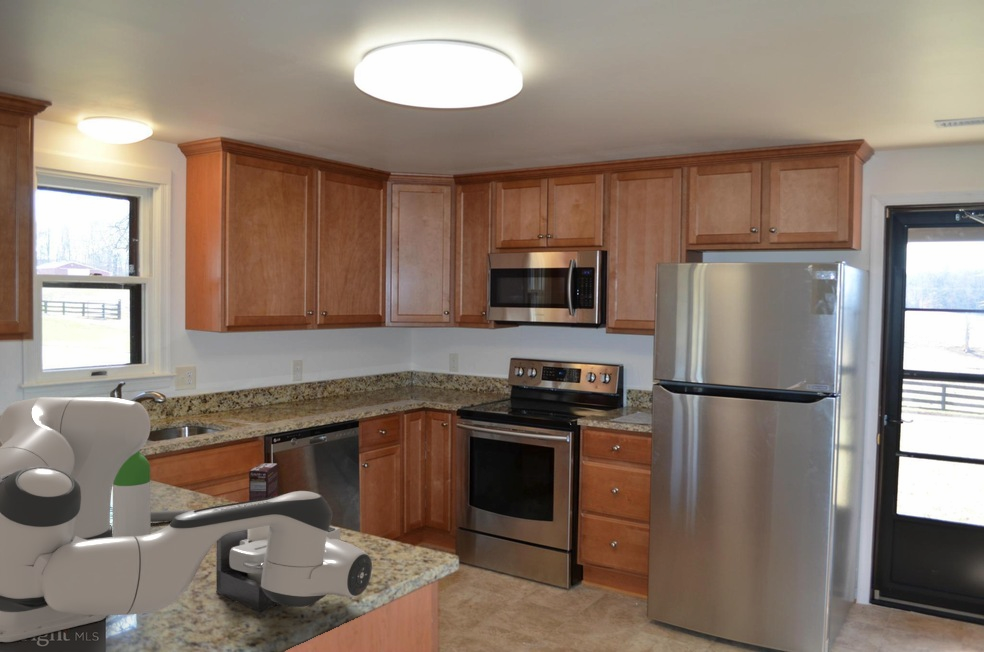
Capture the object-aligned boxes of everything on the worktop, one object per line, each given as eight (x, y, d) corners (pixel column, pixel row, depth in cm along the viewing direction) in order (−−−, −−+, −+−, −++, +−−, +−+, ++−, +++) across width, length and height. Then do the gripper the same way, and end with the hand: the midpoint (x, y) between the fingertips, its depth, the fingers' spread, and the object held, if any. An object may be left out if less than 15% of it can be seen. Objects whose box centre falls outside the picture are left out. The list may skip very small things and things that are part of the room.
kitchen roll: (258, 596, 144) (258, 522, 144) (241, 589, 148) (241, 516, 147) (282, 588, 148) (282, 515, 148) (266, 581, 152) (266, 510, 151)
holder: (258, 611, 139) (259, 547, 139) (216, 592, 148) (216, 531, 148) (307, 594, 148) (307, 533, 148) (264, 576, 157) (264, 519, 156)
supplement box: (259, 524, 192) (260, 462, 192) (278, 525, 192) (279, 463, 192) (247, 535, 184) (248, 470, 183) (267, 535, 184) (267, 470, 183)
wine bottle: (133, 542, 177) (133, 414, 176) (158, 546, 174) (158, 417, 173) (104, 552, 170) (104, 419, 169) (130, 557, 167) (130, 422, 166)
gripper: (254, 588, 132) (211, 569, 140) (345, 557, 148) (301, 542, 156) (255, 552, 131) (211, 535, 140) (346, 525, 147) (301, 512, 156)
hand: (259, 539), depth 148 cm, fingers open, 6 cm apart
